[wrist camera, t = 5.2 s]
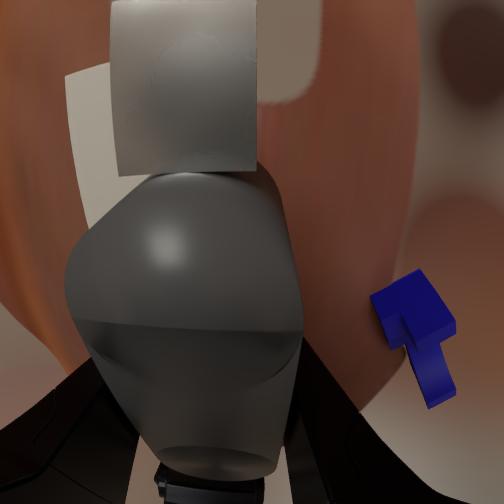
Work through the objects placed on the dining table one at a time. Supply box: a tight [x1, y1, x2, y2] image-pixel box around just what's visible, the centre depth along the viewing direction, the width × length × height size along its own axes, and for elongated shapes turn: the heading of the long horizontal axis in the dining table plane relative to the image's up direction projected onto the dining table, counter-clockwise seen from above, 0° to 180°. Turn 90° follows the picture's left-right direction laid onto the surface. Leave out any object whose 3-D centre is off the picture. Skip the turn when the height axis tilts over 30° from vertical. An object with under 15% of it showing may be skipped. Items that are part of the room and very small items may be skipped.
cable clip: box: [370, 269, 456, 409], centre depth 21 cm, size 12×4×6 cm, turn 31°
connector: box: [64, 0, 304, 481], centre depth 6 cm, size 4×12×4 cm, turn 0°
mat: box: [65, 62, 151, 229], centre depth 17 cm, size 16×10×1 cm, turn 2°
